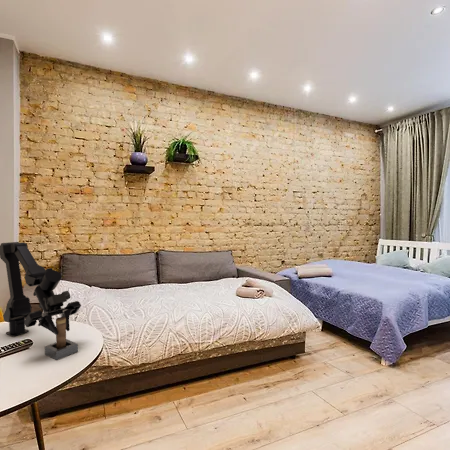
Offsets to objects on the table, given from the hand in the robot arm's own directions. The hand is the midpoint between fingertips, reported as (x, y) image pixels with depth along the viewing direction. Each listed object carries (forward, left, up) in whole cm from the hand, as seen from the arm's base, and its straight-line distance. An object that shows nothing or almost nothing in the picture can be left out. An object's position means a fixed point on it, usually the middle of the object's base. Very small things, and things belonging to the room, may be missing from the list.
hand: (63, 332), depth 115 cm
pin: (-1, 0, -8) cm, 8 cm away
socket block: (-1, 0, -8) cm, 8 cm away
